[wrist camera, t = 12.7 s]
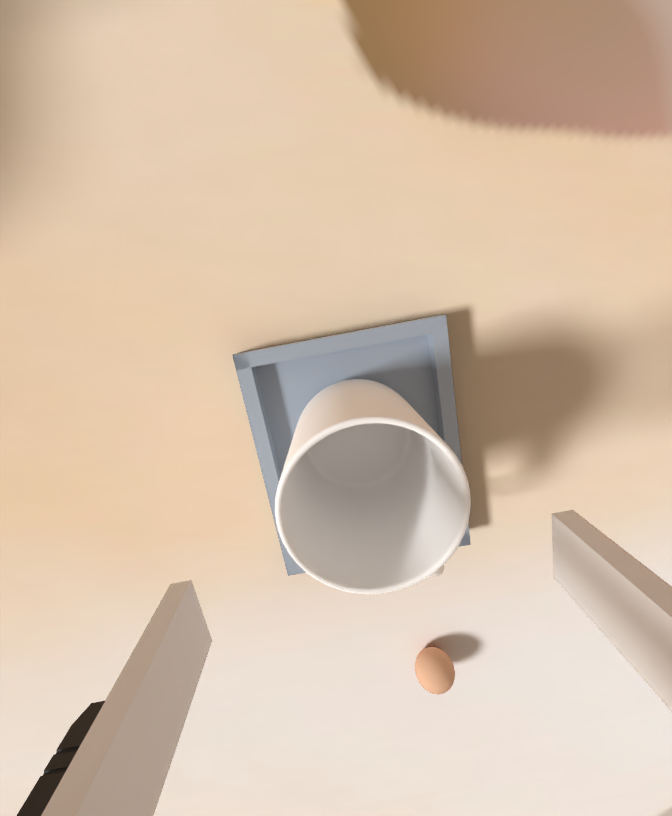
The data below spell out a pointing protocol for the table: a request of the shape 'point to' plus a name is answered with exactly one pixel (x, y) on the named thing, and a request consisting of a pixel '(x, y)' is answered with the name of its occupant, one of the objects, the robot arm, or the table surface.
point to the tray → (337, 361)
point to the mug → (369, 492)
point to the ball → (434, 670)
